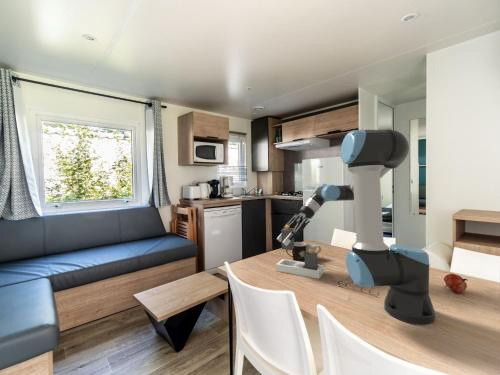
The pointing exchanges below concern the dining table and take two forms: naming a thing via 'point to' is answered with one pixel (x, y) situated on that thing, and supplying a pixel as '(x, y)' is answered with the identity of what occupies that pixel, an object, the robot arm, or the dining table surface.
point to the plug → (284, 234)
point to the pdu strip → (298, 268)
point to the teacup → (312, 246)
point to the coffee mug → (298, 251)
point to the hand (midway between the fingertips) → (281, 242)
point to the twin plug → (311, 260)
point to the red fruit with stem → (455, 283)
